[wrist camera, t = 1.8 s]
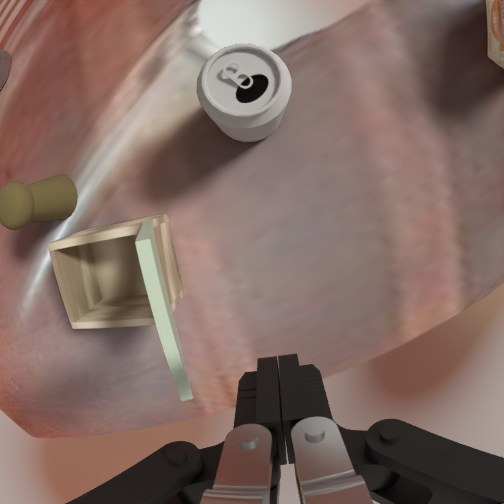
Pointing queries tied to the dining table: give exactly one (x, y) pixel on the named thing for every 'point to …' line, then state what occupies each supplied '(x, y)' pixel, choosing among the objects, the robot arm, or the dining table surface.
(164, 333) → the lid
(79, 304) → the box
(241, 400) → the robot arm
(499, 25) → the coffeecake box
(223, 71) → the can
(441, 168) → the dining table surface
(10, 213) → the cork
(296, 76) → the dining table surface
